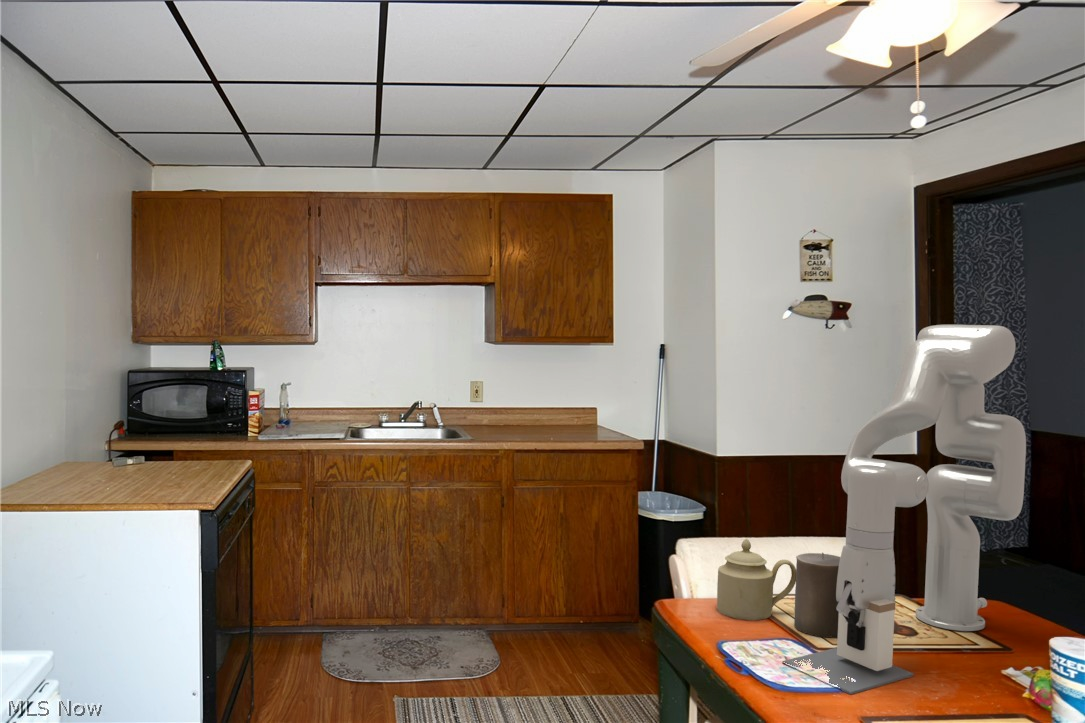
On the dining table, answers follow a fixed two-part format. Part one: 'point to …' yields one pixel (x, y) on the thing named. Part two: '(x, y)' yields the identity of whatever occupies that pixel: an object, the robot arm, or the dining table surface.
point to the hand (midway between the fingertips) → (864, 644)
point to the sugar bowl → (749, 585)
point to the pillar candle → (816, 594)
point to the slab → (871, 636)
